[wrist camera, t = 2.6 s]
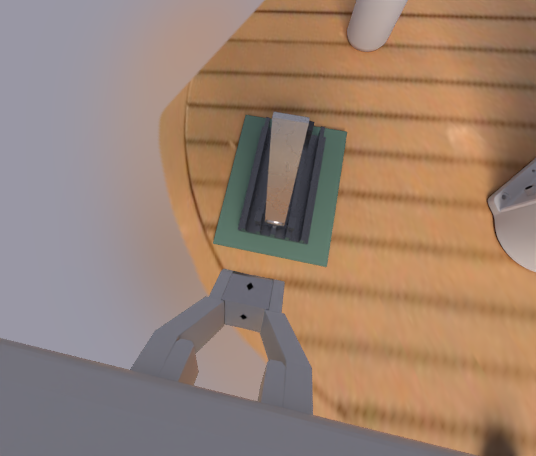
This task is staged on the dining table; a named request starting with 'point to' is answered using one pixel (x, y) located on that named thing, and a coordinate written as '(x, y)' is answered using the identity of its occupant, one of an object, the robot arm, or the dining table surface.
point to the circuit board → (323, 207)
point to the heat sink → (301, 195)
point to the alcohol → (373, 23)
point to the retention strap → (283, 163)
